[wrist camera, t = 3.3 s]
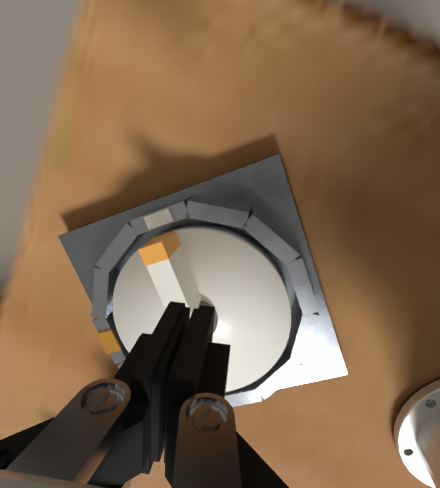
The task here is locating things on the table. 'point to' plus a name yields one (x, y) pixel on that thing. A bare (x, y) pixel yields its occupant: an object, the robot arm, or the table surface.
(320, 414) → the table surface
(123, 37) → the table surface
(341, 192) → the table surface
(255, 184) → the panel
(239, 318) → the dial
